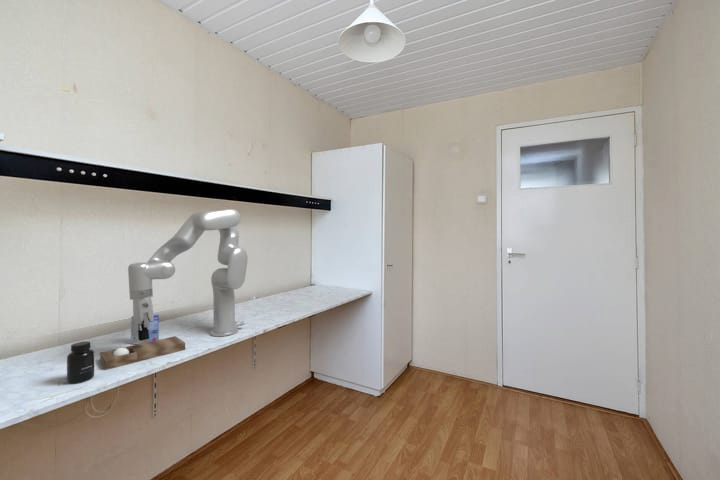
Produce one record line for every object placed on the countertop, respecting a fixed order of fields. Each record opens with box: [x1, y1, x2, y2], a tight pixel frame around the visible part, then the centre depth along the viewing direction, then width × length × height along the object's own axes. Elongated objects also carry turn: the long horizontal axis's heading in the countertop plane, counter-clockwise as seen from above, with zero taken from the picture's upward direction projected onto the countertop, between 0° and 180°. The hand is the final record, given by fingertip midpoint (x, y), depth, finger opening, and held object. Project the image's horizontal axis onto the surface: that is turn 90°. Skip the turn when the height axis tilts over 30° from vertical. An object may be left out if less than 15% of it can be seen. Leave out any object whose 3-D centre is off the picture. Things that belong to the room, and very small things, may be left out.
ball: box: [113, 347, 129, 357], centre depth 119 cm, size 5×5×5 cm
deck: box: [99, 335, 186, 371], centre depth 125 cm, size 26×12×3 cm, turn 138°
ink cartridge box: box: [130, 314, 160, 345], centre depth 138 cm, size 10×6×14 cm, turn 78°
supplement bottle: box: [66, 341, 95, 384], centre depth 104 cm, size 7×7×12 cm
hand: (143, 339), depth 125 cm, fingers closed
